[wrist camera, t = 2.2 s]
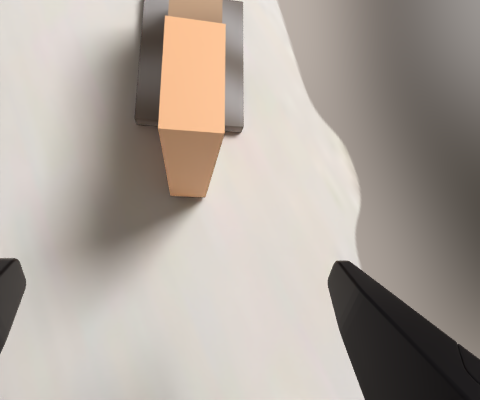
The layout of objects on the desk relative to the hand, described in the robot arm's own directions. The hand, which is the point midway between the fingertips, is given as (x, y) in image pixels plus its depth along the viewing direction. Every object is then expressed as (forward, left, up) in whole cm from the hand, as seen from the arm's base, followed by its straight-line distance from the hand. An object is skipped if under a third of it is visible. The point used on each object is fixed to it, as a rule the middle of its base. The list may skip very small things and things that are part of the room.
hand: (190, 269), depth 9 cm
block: (+7, -4, -13) cm, 15 cm away
